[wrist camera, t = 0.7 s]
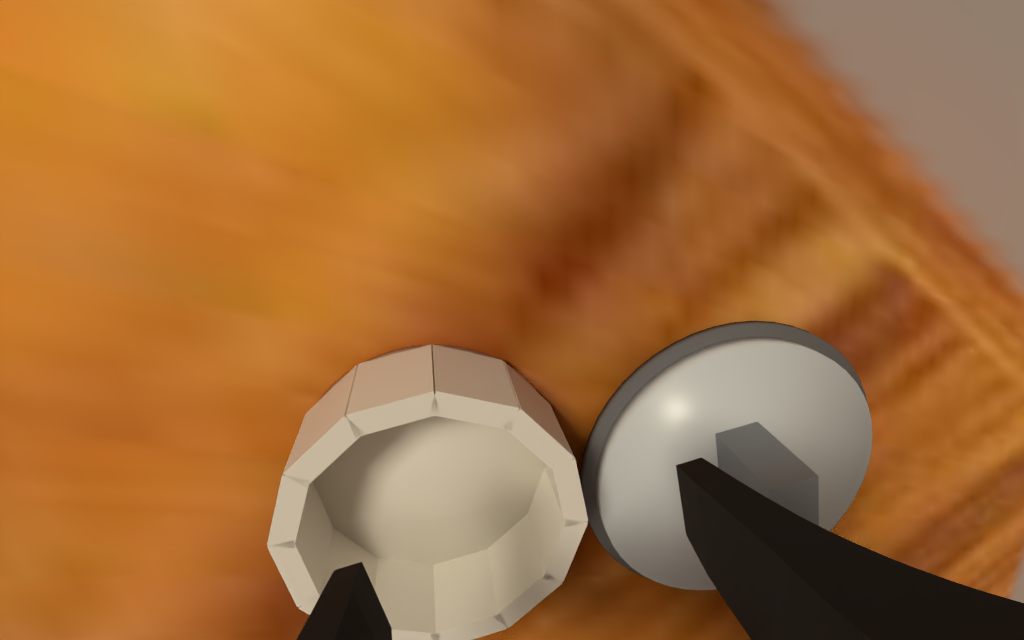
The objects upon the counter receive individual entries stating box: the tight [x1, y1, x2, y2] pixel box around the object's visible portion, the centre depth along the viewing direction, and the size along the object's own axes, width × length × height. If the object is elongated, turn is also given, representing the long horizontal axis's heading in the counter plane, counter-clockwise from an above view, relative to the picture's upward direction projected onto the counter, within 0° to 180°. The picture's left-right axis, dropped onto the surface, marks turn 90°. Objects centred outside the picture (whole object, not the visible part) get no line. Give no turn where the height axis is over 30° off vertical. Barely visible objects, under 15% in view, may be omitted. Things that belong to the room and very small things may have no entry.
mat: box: [581, 321, 867, 578], centre depth 24 cm, size 13×13×1 cm
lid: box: [595, 336, 873, 590], centre depth 21 cm, size 12×12×4 cm
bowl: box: [267, 345, 588, 640], centre depth 20 cm, size 10×10×4 cm
